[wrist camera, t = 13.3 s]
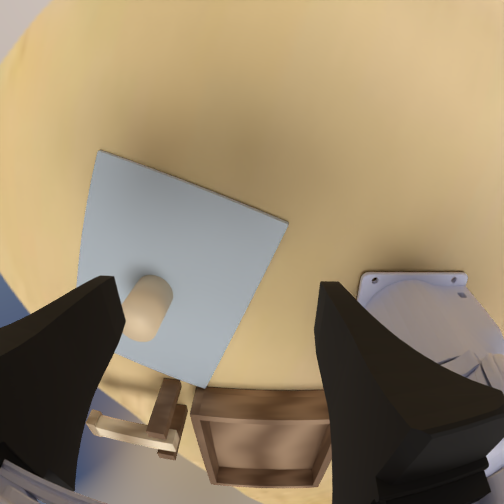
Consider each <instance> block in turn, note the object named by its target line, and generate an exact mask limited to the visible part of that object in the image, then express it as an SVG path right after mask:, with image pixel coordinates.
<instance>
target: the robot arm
mask: <svg viewBox="0 0 504 504" xmlns="http://www.w3.org/2000/svg"><path fill="white" fill-rule="evenodd" d="M375 277H376V278H377V279H376V280H375V281H372V279H373V278H375ZM452 278H454V279H453V280H452ZM467 280H468V276H467V274H466V273H464V272H366V273H364V274H363V275H362V277H361V280H360V285H359V291H358V296H357V300H356V299H355V298H354V297H353V296H352V295H351V294H350V293H349V292H348V291H347V290H346V289H345V288H344V287H343V286H342V285H341V284H340V283H339V282H320V289H319V297H318V305H317V312H316V319H315V326H314V334H315V346H316V355H317V360H318V365H319V369H320V374H321V378H322V383H323V388H324V392H325V397H326V402H327V407H328V413H329V421H330V433H331V450H332V487H333V493H332V504H504V339H503V336H502V333H501V331H500V329H499V327H498V326H497V324H496V323H495V322H494V320H493V319H492V318H491V317H490V315H489V314H488V313H487V311H486V310H485V309H484V308H483V307H482V305H481V304H480V303H479V302H478V300H477V299H476V298H475V297H474V296H473V294H472V293H471V292H470V291H469V290H468V288H467V287H466V283H467ZM125 323H126V319H125V316H124V312H123V308H122V305H121V301H120V297H119V293H118V289H117V285H116V281H115V277H114V276H103V275H100V276H98V277H95V278H93V279H91V280H89V281H87V282H86V283H84V284H82V285H80V286H79V287H77V288H75V289H73V290H72V291H70V292H68V293H67V294H65V295H63V296H62V297H60V298H58V299H57V300H55V301H53V302H52V303H50V304H48V305H46V306H44V307H43V308H41V309H39V310H37V311H36V312H34V313H32V314H30V315H28V316H26V317H24V318H22V319H20V320H18V321H16V322H14V323H12V324H9V325H7V326H4V327H2V328H0V504H40V503H38V501H37V499H38V500H40V501H42V502H44V503H46V504H107V503H104V502H100V501H98V500H95V499H91V498H89V497H86V496H83V495H81V494H78V493H75V492H74V491H75V478H76V467H77V459H78V454H79V448H80V442H81V438H82V433H83V429H84V425H85V421H86V418H87V414H88V411H89V408H90V405H91V401H92V398H93V396H94V393H95V391H96V389H97V387H98V385H99V383H100V380H101V378H102V376H103V374H104V372H105V370H106V368H107V366H108V364H109V362H110V360H111V358H112V356H113V354H114V352H115V350H116V348H117V346H118V344H119V341H120V338H121V335H122V332H123V329H124V326H125Z"/></svg>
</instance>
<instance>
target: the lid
mask: <svg viewBox="0 0 504 504" xmlns="http://www.w3.org/2000/svg"><path fill="white" fill-rule="evenodd" d="M288 225H289V223H288V222H287V221H284V220H282V219H280V218H277V217H275V216H272V215H270V214H268V213H265V212H263V211H260V210H258V209H256V208H253V207H251V206H248V205H246V204H243V203H241V202H238V201H236V200H233V199H231V198H228V197H226V196H223V195H221V194H218V193H216V192H213V191H211V190H208V189H206V188H203V187H200V186H198V185H195V184H193V183H190V182H187V181H185V180H182V179H180V178H177V177H174V176H172V175H169V174H166V173H164V172H161V171H158V170H156V169H153V168H150V167H147V166H145V165H142V164H139V163H136V162H134V161H131V160H128V159H125V158H123V157H120V156H117V155H114V154H111V153H108V152H106V151H103V150H98V153H97V157H96V161H95V165H94V170H93V175H92V179H91V184H90V189H89V195H88V200H87V206H86V212H85V218H84V224H83V231H82V239H81V247H80V255H79V265H78V276H77V287H79V286H80V285H82V284H84V283H86V282H87V281H89V280H91V279H93V278H95V277H98V276H100V275H103V276H114V277H115V281H116V285H117V289H118V293H119V297H120V301H121V305H122V308H123V312H124V316H125V319H126V323H125V326H124V329H123V332H122V335H121V338H120V341H119V344H118V346H117V348H116V350H115V352H114V353H116V354H118V355H121V356H123V357H125V358H127V359H130V360H132V361H134V362H137V363H139V364H141V365H144V366H146V367H148V368H151V369H153V370H156V371H158V372H161V373H163V374H166V375H168V376H171V377H174V378H176V379H179V380H182V381H184V382H187V383H190V384H193V385H195V386H198V387H201V388H204V389H205V388H206V386H207V384H208V383H209V381H210V379H211V377H212V375H213V373H214V371H215V369H216V367H217V365H218V363H219V362H220V360H221V358H222V356H223V354H224V352H225V350H226V348H227V346H228V344H229V342H230V340H231V338H232V336H233V335H234V333H235V331H236V329H237V327H238V325H239V323H240V321H241V319H242V317H243V315H244V313H245V311H246V309H247V307H248V305H249V303H250V301H251V299H252V297H253V295H254V293H255V291H256V289H257V287H258V285H259V283H260V281H261V279H262V277H263V275H264V273H265V271H266V269H267V267H268V265H269V263H270V261H271V259H272V257H273V255H274V253H275V251H276V249H277V247H278V245H279V243H280V241H281V239H282V237H283V235H284V233H285V231H286V229H287V227H288Z"/></svg>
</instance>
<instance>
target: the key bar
mask: <svg viewBox="0 0 504 504" xmlns="http://www.w3.org/2000/svg"><path fill="white" fill-rule="evenodd" d="M86 424H87V426H88V427H89V428H90V430H91V431H92V433H93V434H94V435H96V436H100V437H103V436H104V437H108V438H112V439H115V440H120V441H123V442H128V443H132V444H136V445H141V446H146V447H151V448H156V449H161V450H167V451H173V452H176V451H177V447H178V443H179V439H180V438H179V436H178V433H177V430H173V429H169V432H168V435H167V439H166V440H163V439H157V438H152V437H149V436H148V434H147V432H146V429H147V426H148V425H144V424H139V423H134V422H129V421H125V420H120V419H116V418H112V417H107V416H104V415H102V413H101V412H100V411H96V410H92V411H91V413H90V415H89V417H88V419H87V421H86Z"/></svg>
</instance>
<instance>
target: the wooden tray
mask: <svg viewBox="0 0 504 504" xmlns="http://www.w3.org/2000/svg"><path fill="white" fill-rule="evenodd" d="M180 390H181V383H180V380H173V379H165V378H164V380H163V383H162V386H161V388H160V391H159V394H158V397H157V400H156V403H155V406H154V409H153V411H152V414H151V417H150V420H149V423H148V426H147V429H146V432H147V434H148V436H149V437H152V438H157V439H163V440H166V439H167V435H168V432H169V429H173V430H177V433H178V436H179V438H180V439H179V443H178V447H177V451H176V452H173V451H167V450H161V449H158V452H157V454H158V455H159V457H160V458H165V459H171V460H176V456H177V452H178V448H179V444H180V440H181V436H182V432H183V428H184V424H185V420H186V416H187V412H188V410H187V406H186V405H178V404H177V400H178V397H179V393H180ZM190 417H191V420H192V424H193V427H194V431H195V434H196V438H197V441H198V445H199V448H200V451H201V454H202V458H203V461H204V464H205V467H206V470H207V473H208V476H209V479H210V482H211V484H214V485H224V486H236V487H253V488H310V487H318V486H319V484H320V482H321V480H322V478H323V476H324V474H325V472H326V470H327V468H328V466H329V463H330V461H331V459H332V450H331V433H330V421H329V413H328V407H327V402H326V397H325V392H324V390H310V391H277V390H246V389H229V388H215V387H206V388H205V389H204V388H201V387H198V386H197V388H196V392H195V396H194V400H193V404H192V408H191V412H190Z"/></svg>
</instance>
